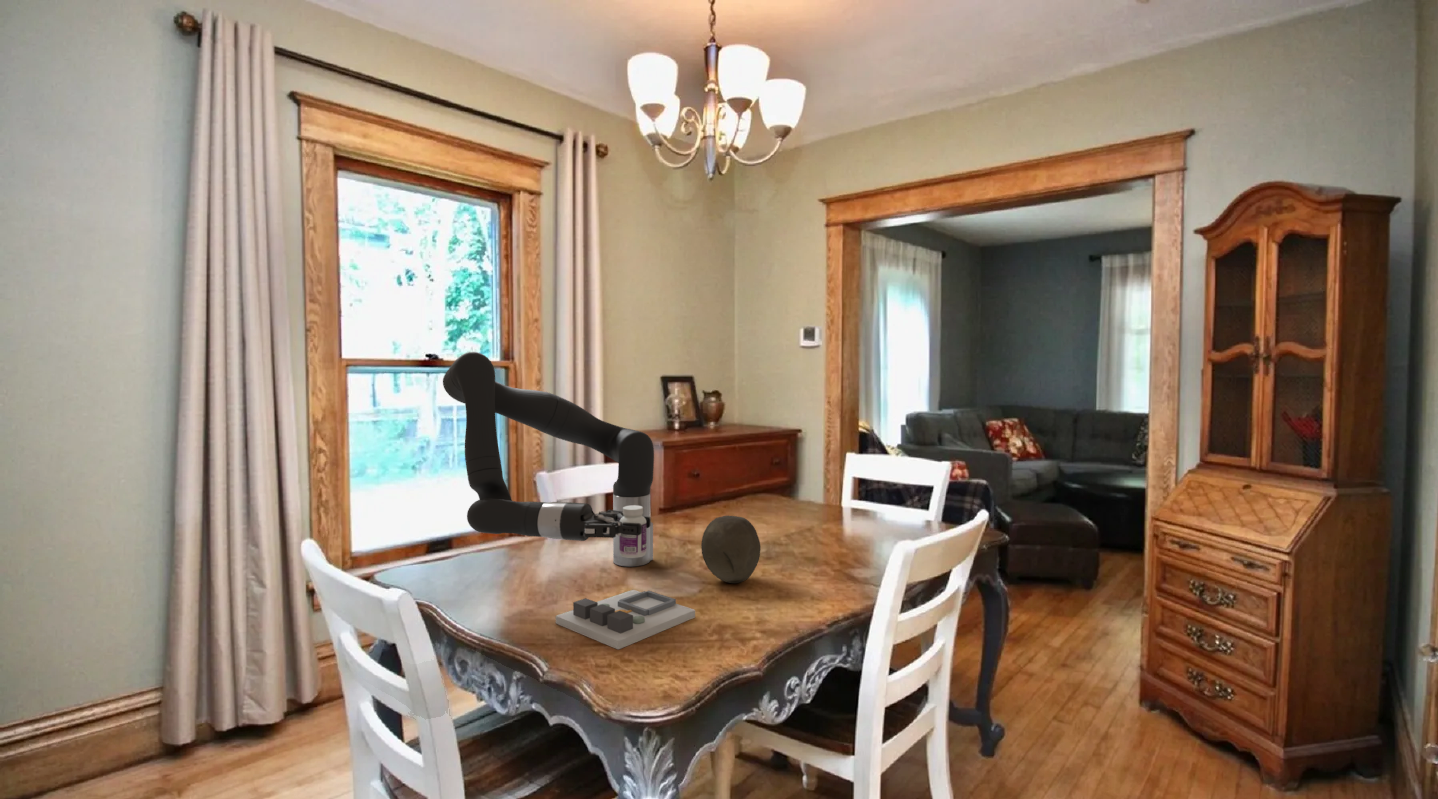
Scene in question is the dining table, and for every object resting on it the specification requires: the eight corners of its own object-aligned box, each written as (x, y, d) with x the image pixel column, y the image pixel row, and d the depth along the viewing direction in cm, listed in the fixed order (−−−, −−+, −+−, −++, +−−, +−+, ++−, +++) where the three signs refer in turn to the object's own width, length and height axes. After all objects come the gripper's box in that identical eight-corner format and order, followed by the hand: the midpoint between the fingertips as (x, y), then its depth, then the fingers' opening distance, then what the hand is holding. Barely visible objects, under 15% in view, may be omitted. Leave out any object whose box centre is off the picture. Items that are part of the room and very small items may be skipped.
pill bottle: (635, 549, 139) (635, 503, 139) (651, 555, 136) (652, 507, 135) (613, 554, 136) (614, 506, 135) (629, 560, 132) (630, 511, 131)
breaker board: (633, 596, 146) (633, 578, 145) (695, 617, 134) (695, 597, 134) (555, 623, 130) (555, 603, 130) (618, 649, 119) (618, 627, 118)
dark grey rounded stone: (773, 580, 157) (774, 516, 156) (732, 595, 147) (733, 527, 146) (728, 567, 166) (728, 507, 166) (687, 580, 156) (687, 516, 155)
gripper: (550, 510, 131) (634, 515, 128) (579, 495, 145) (656, 500, 142) (550, 548, 131) (634, 554, 128) (579, 530, 145) (655, 535, 142)
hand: (645, 525), depth 135 cm, fingers closed on pill bottle, 5 cm apart
